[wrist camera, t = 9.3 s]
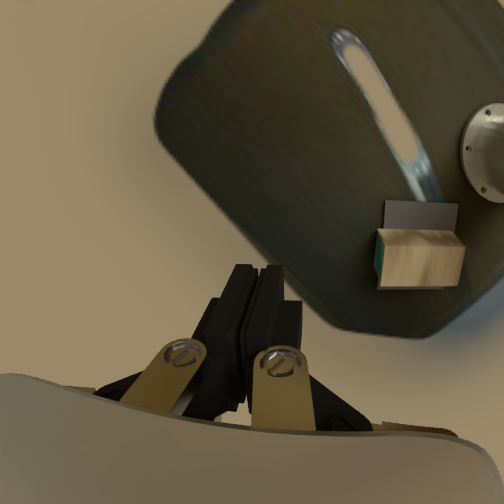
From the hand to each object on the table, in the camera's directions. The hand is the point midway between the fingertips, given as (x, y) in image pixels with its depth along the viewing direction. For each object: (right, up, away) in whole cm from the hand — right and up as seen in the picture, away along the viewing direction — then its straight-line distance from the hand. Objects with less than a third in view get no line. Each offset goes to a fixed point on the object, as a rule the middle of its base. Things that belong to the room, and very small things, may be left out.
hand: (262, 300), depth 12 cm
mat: (+20, +2, +25) cm, 33 cm away
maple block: (+14, +1, +24) cm, 28 cm away
